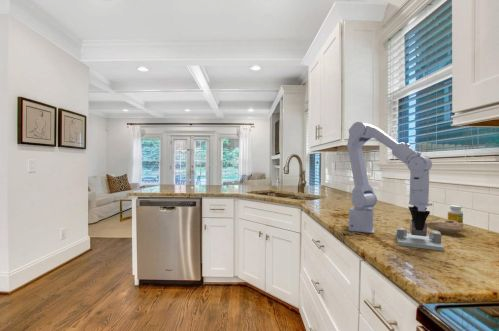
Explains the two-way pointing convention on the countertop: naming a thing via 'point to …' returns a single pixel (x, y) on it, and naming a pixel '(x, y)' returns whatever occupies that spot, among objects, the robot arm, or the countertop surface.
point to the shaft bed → (419, 240)
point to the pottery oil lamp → (446, 226)
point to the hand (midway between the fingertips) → (418, 228)
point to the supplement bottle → (455, 214)
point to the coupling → (417, 232)
